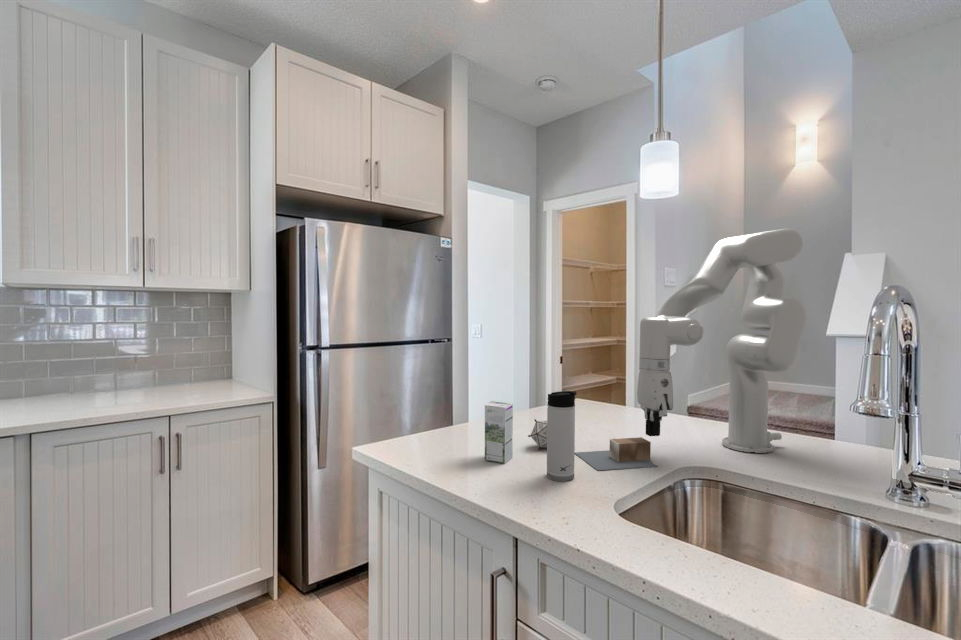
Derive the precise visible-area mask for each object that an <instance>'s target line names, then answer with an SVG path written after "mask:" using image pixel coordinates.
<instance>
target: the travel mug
mask: <svg viewBox="0 0 961 640" xmlns="http://www.w3.org/2000/svg"><path fill="white" fill-rule="evenodd" d="M576 396H577V391H576V390H562V391H553V392H551V393H548V394H547V404H546V405H547V406H546V407H547V409H546V411H547V414H546V415H547V416H546V421H547V447H546V476H547V478H548V479H550V480H552V481H556V482H569V481H571V480H573V479H574V478H575V454H574V453H576V452H575V450H576V449H575V447H576V446H575V442H576V440H575V439H576V438H575V437H576V436H575V434H576V430H575V428H576V409H575V408H576V403H575V402H576Z"/></svg>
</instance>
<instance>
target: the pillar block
mask: <svg viewBox="0 0 961 640" xmlns="http://www.w3.org/2000/svg"><path fill="white" fill-rule="evenodd" d="M609 450H610V457H611V458H613V459H614V460H616V461H617V462H622V461H637V460H649V461H651V450H652V449H651V441H650V440H647V439H645V438H643V437H642V436H641V437H625V438H623V437H621V438H609Z"/></svg>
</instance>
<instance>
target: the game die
mask: <svg viewBox="0 0 961 640" xmlns="http://www.w3.org/2000/svg"><path fill="white" fill-rule="evenodd" d="M534 422H535V424H534V426H533V429H532V431H531V433H530V434H528V435H527V437H528V438H532V439H533V441H534V443H535V444H536V445H537V446H538V451H541V449H542V448H547V420H539V421H538V420H537V419H536V418H534Z"/></svg>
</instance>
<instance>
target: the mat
mask: <svg viewBox="0 0 961 640" xmlns="http://www.w3.org/2000/svg"><path fill="white" fill-rule="evenodd" d="M574 455H576V456H577V457H578V456H579V457H578V458H580V459H581V460H582V459H583V460H582V461H584V462H585V463H586V464H587V465H589V466H590V467H591V468H593V469H594V470H595V469H596V470H595V471H597V472H602V471H603V472H604V470H605V471H615V470H616V471H617V469H619V470H631V469H632V468H633V469H644V468H657V467H659V465H657V464H656V463H653V462H652V461H651V460H637V461H622V462H617V461H616V460H614V459H613V458H611V457H610V449H608V450H595V451H577V452H575V454H574ZM629 468H630V469H629Z"/></svg>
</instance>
